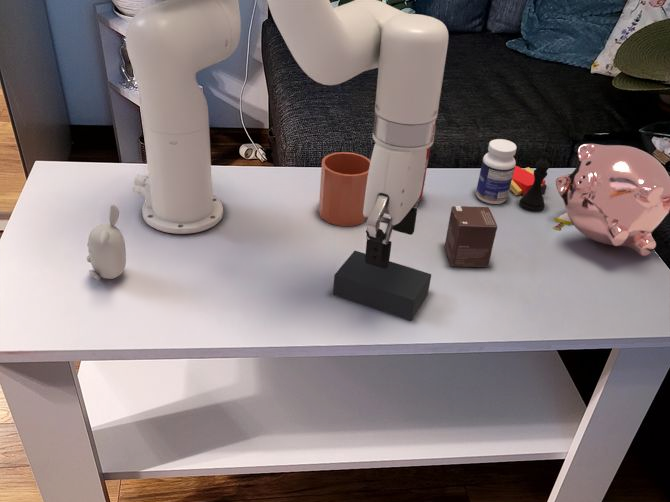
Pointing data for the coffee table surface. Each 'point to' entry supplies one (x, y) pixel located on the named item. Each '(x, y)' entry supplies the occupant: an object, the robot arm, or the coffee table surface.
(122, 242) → the rabbit figurine
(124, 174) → the coffee table surface
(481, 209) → the box
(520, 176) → the toy figure
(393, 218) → the robot arm
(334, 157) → the cup
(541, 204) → the chess piece
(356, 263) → the black rectangular block
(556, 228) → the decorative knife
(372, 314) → the coffee table surface
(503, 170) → the pill bottle
